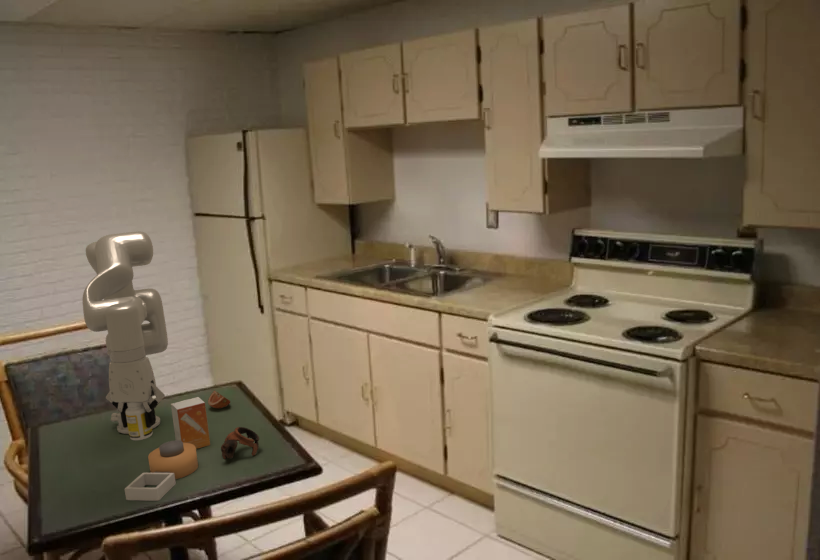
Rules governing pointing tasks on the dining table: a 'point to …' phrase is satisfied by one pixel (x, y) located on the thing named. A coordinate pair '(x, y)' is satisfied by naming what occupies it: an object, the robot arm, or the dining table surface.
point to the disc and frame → (163, 470)
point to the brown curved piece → (233, 437)
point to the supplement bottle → (137, 421)
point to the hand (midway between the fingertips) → (139, 424)
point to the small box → (191, 422)
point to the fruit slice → (218, 400)
